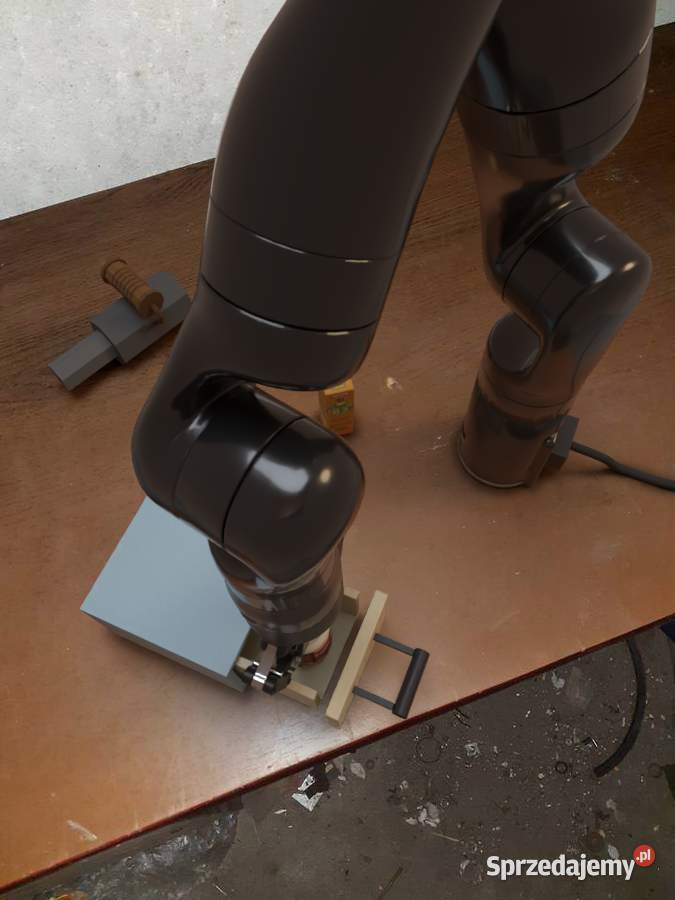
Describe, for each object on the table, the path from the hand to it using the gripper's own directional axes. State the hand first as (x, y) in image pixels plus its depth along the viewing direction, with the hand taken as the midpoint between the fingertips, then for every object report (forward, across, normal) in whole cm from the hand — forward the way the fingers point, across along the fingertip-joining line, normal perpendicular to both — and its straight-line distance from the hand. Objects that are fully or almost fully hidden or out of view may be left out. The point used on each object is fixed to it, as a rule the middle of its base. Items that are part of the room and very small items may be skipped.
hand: (305, 630), depth 61 cm
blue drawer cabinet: (+8, 0, +12) cm, 14 cm away
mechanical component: (+8, +24, +35) cm, 43 cm away
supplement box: (+8, +24, +7) cm, 26 cm away
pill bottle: (+5, 0, 0) cm, 5 cm away
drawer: (+7, 0, -2) cm, 7 cm away
